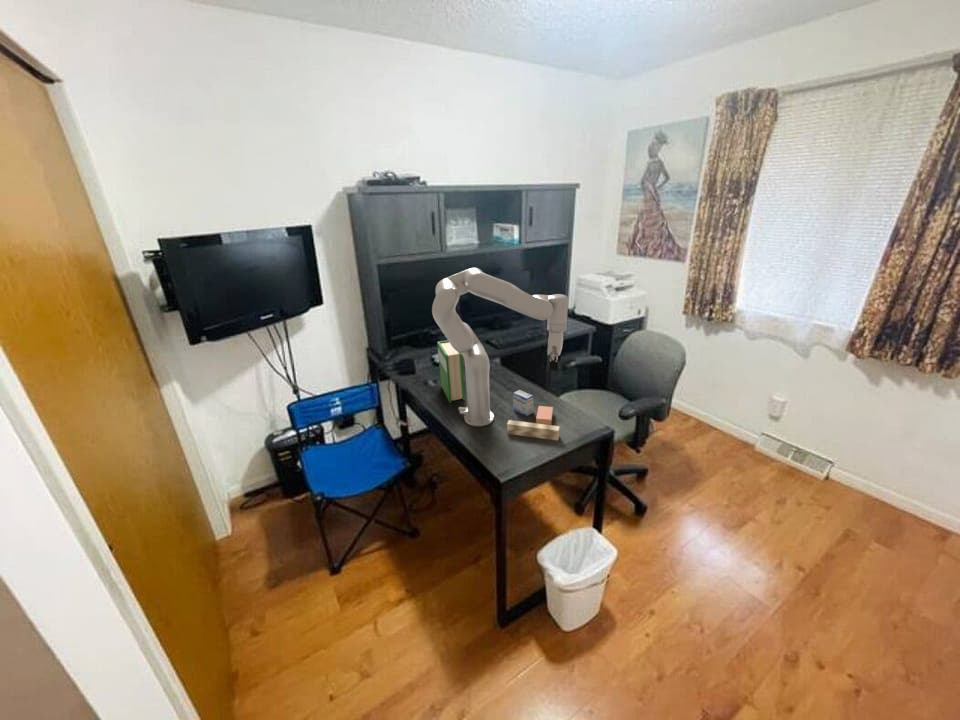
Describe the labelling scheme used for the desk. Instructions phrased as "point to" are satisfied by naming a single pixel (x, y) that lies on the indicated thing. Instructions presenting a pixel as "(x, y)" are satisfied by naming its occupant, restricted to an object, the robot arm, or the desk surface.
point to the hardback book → (451, 371)
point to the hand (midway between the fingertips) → (555, 365)
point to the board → (533, 430)
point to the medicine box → (523, 402)
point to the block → (544, 415)
